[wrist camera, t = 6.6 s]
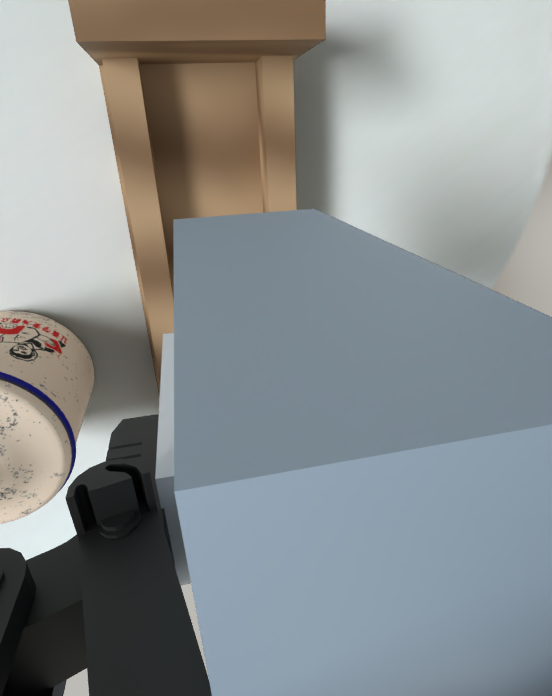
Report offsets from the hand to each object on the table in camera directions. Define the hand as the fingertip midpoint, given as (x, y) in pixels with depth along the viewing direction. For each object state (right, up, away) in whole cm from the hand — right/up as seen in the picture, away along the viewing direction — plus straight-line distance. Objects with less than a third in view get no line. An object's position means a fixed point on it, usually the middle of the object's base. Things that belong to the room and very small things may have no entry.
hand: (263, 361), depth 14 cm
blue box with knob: (0, +1, +2) cm, 2 cm away
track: (-3, +7, +14) cm, 16 cm away
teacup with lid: (-18, -1, +15) cm, 23 cm away
